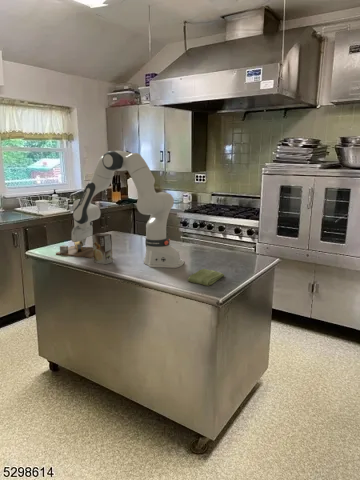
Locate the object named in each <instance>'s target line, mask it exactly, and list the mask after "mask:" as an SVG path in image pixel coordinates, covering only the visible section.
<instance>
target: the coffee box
mask: <svg viewBox="0 0 360 480" xmlns="http://www.w3.org/2000/svg"><path fill="white" fill-rule="evenodd" d="M91 237H92V248H93V255H94V257H93V263H96V264H101V265H108V264H111V263H113V262H114V261H113V243H112V240H113V239H112V233H111V234H110V233H104V232H95V233H94V234H92V236H91Z"/></svg>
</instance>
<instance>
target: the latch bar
mask: <svg viewBox="0 0 360 480" xmlns="http://www.w3.org/2000/svg"><path fill="white" fill-rule="evenodd" d="M73 243H74V245H73V246H75V248H76V250H77V251H78V252H82V247H83V246H82V245H81V243H80V242H79V241H78V242H73Z"/></svg>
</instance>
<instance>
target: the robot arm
mask: <svg viewBox="0 0 360 480" xmlns="http://www.w3.org/2000/svg"><path fill="white" fill-rule="evenodd" d="M116 171H119V172H123V171H124V172H125V171H126V172H128V174H129V176H130V177H131V180H132V181H133V184H134V186H135V188H136V190H137V195H138V197H137V202H136V208H137V211H138V212H139V213H140V215H141V214H142V215H144V216H149V215H150V217H149V219H148V220H147V222H146V223H145V232H146V234H145V243H144V244H145V257H144V260H143V264H145V265H146V266H148V267H150V268H172V269H175V268H176V269H177V268H180V267H182V266H183V264H184V263H185V262H184V259H182V258H181V257H180V251H178V250H177V249H176V248H175V247H173V246H172V245H171V243H170V242H171V238H168V237H167V224H168V223H167V222H168V218H169V214H170V213H171V212H170V211H171V209H172V208H173V207H174V202H175V200H174V197H173V195H172V194H171V193H168V192H165V191H161V192H160V191H159V192H157V191H156V190H155V189H156V188H155V182H156V179H155V176H154V175H153V173H152V171H151V169H150V167H149V165H148V163H147V162H146V161H145V159H144V157H143V156H142V155H141V154H140V153H138V152H130V151H124V150H109V151H106V152H105V153H104V154H103V155H102V156H101V157H99V159H98V161H97V163H96V166H95V168H94V172H93V174H92V177H91V178H90V180H89V182H88V183H87V184H86V185H85V187H84V189H83V191H82V195H81V197H80V198H79V199H75V200H74V201H73V204H72V211H73V212H72V217H73V224H74V227H73V228H72V229H71V242H73V243H74V242H78V241H79V242H80V243H81V245H82V247H85V246H86V242H87V238H90V237H92V235H93V231H94V230H93V221H95V220H99V219H100V218H101V215H102V210H101V209H100V207H99V206H98V205H97V204H93V203H92V201H93V198H94V197H95V196H96V195H97V194H99V193H100V192H102V191H105V190H107V189H108V188H109V187H110V185H111V183H112V181H113V178H114V174H115V172H116Z"/></svg>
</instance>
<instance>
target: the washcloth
mask: <svg viewBox="0 0 360 480" xmlns="http://www.w3.org/2000/svg"><path fill="white" fill-rule="evenodd" d="M224 276H225V274H224V273H222V272H219V271H217V270H213V269H211V270H210V269H207V268H202V269H199V270H198V271H196V272H195V273H192V274H191V275H189V276H188V277H187V281H188V282H189V283H193V284H200V285H203V286H205V287H210V286H212V285H214V283H216V282H217V281H219V280H220V279H221V278H223V277H224Z"/></svg>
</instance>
